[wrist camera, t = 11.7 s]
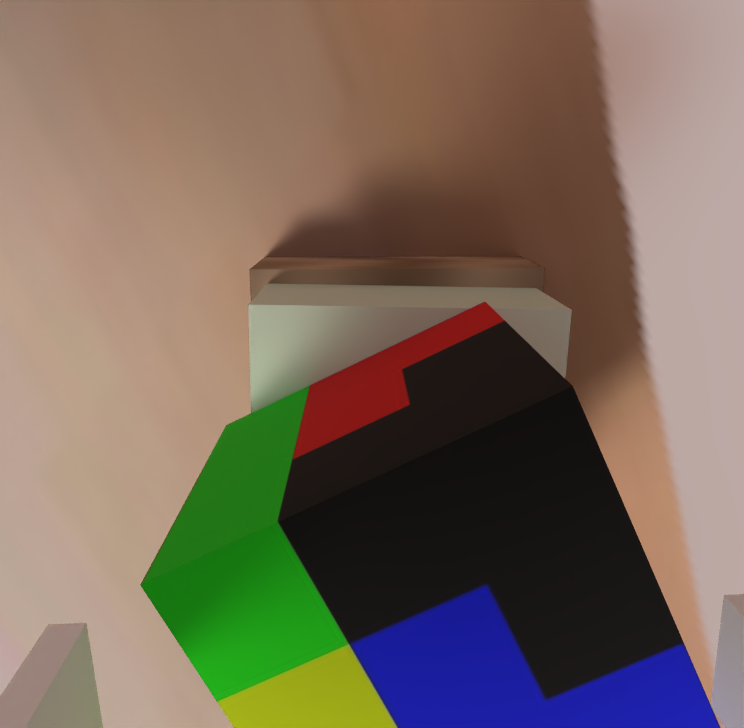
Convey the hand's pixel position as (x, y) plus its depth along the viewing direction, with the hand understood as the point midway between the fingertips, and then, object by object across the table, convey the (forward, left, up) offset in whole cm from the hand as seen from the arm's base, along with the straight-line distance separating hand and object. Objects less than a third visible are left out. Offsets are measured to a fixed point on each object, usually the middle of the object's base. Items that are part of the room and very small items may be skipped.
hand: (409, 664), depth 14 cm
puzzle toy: (+1, -1, -11) cm, 11 cm away
